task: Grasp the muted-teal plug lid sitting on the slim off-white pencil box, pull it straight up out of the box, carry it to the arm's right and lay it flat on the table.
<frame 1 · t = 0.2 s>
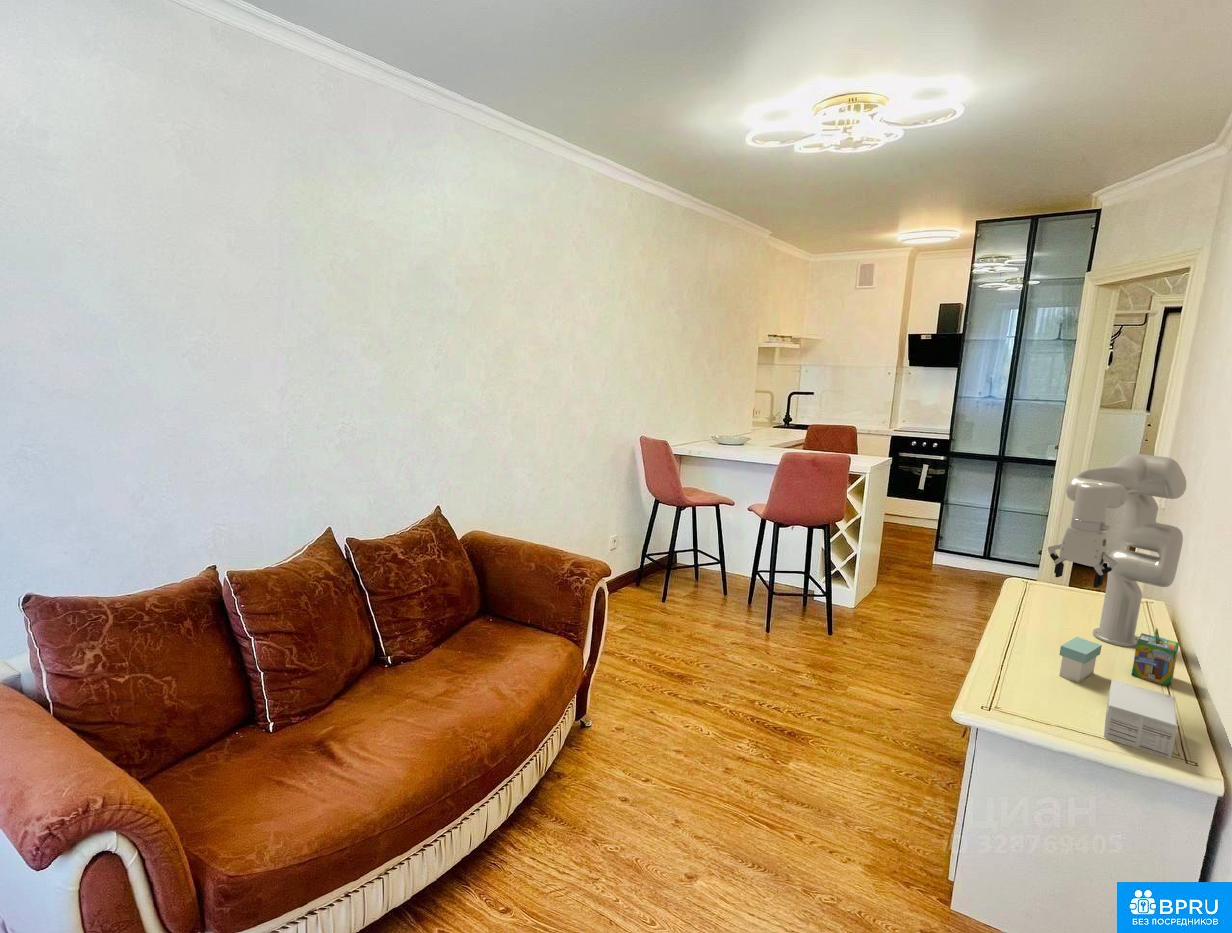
hand: (1077, 581, 182), 30 cm above the cabinet, fingers open, 9 cm apart
box: (1076, 674, 187), on the cabinet
chalk box: (1151, 677, 187), on the cabinet
lid: (1079, 654, 186), point 6 cm above the cabinet, touching box
supplement box: (1136, 734, 158), on the cabinet
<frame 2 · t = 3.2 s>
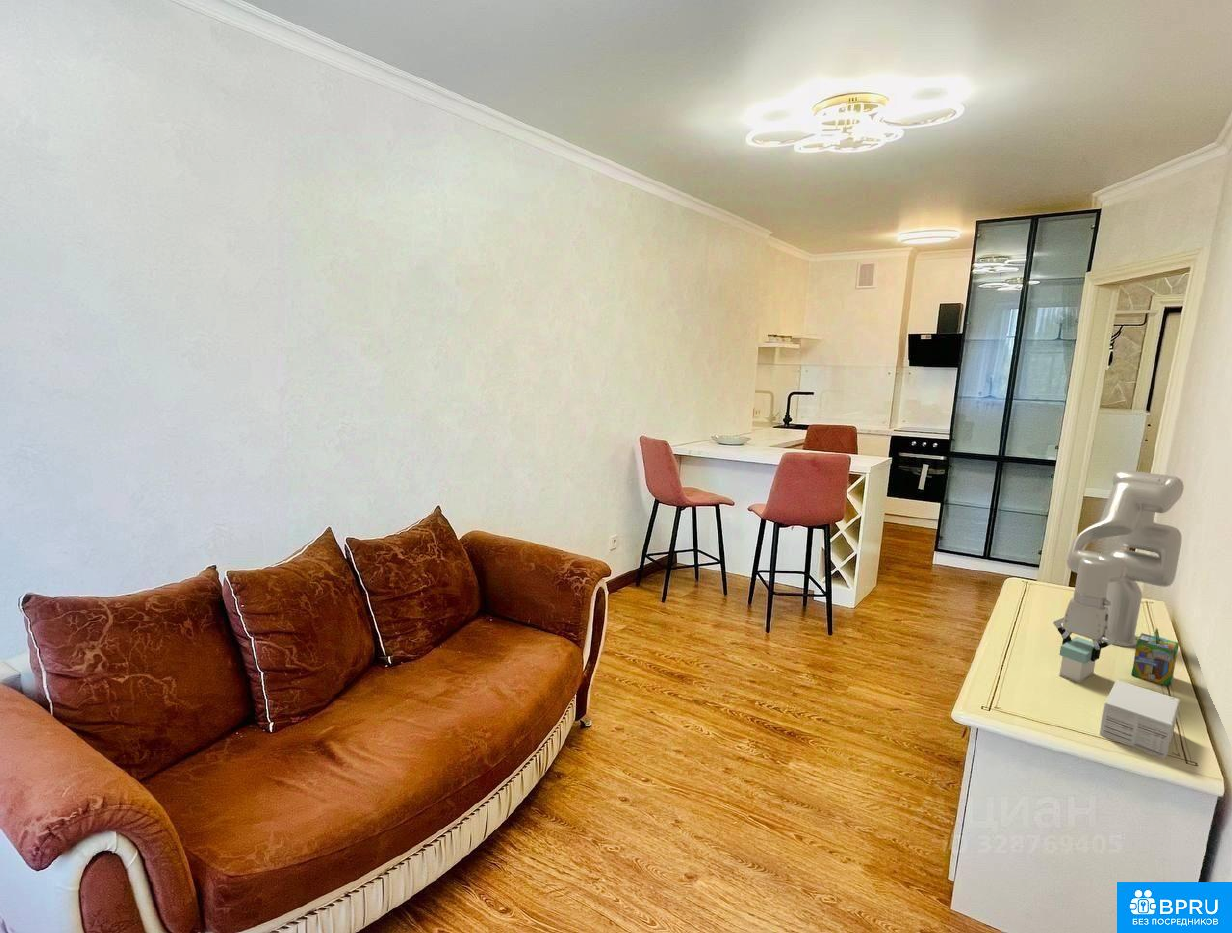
hand: (1079, 654, 186), 6 cm above the cabinet, fingers closed on lid, 6 cm apart
lid: (1079, 654, 186), point 7 cm above the cabinet, touching box, gripper
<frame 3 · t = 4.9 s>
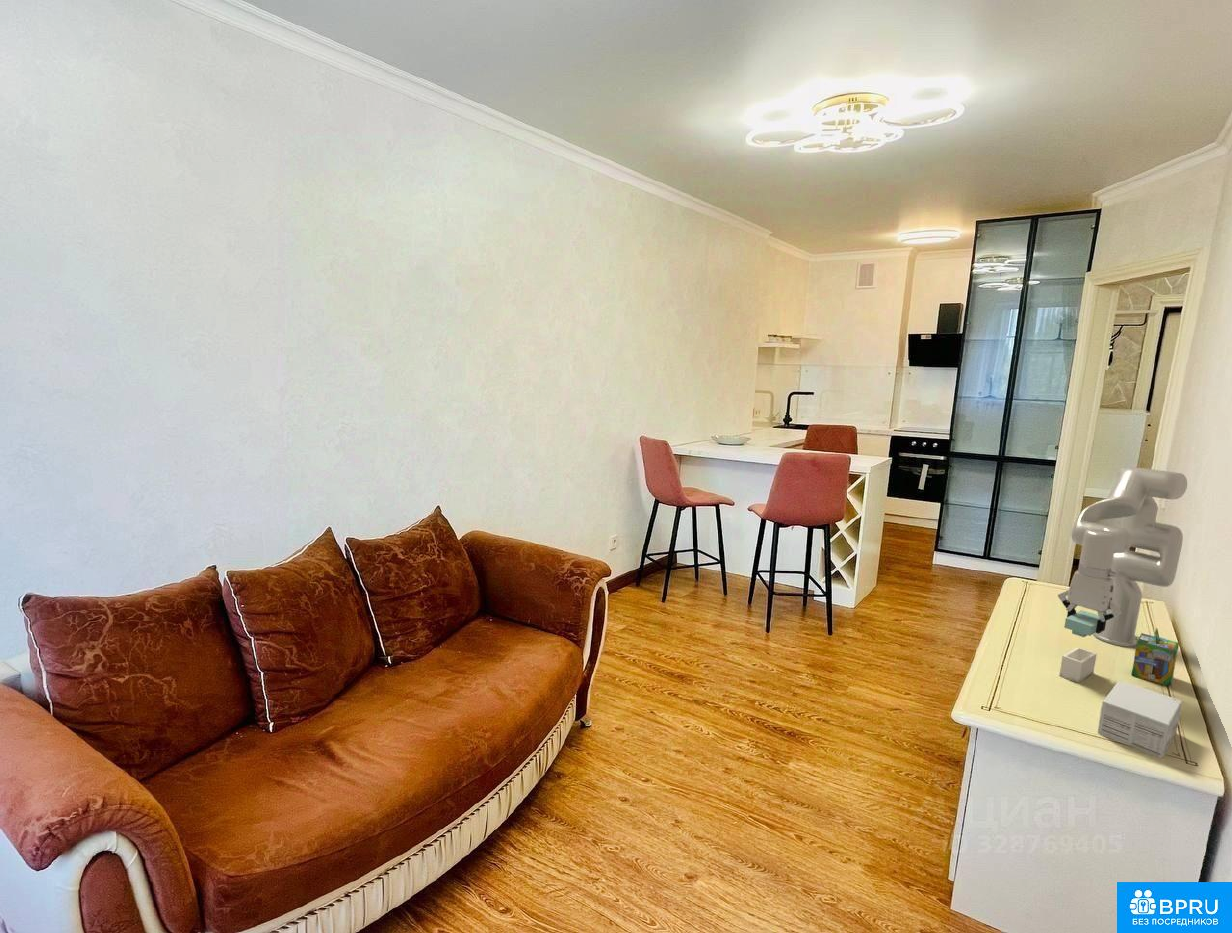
hand: (1084, 627, 185), 15 cm above the cabinet, fingers closed on lid, 6 cm apart
lid: (1084, 627, 185), point 15 cm above the cabinet, touching gripper
everything else where it was.
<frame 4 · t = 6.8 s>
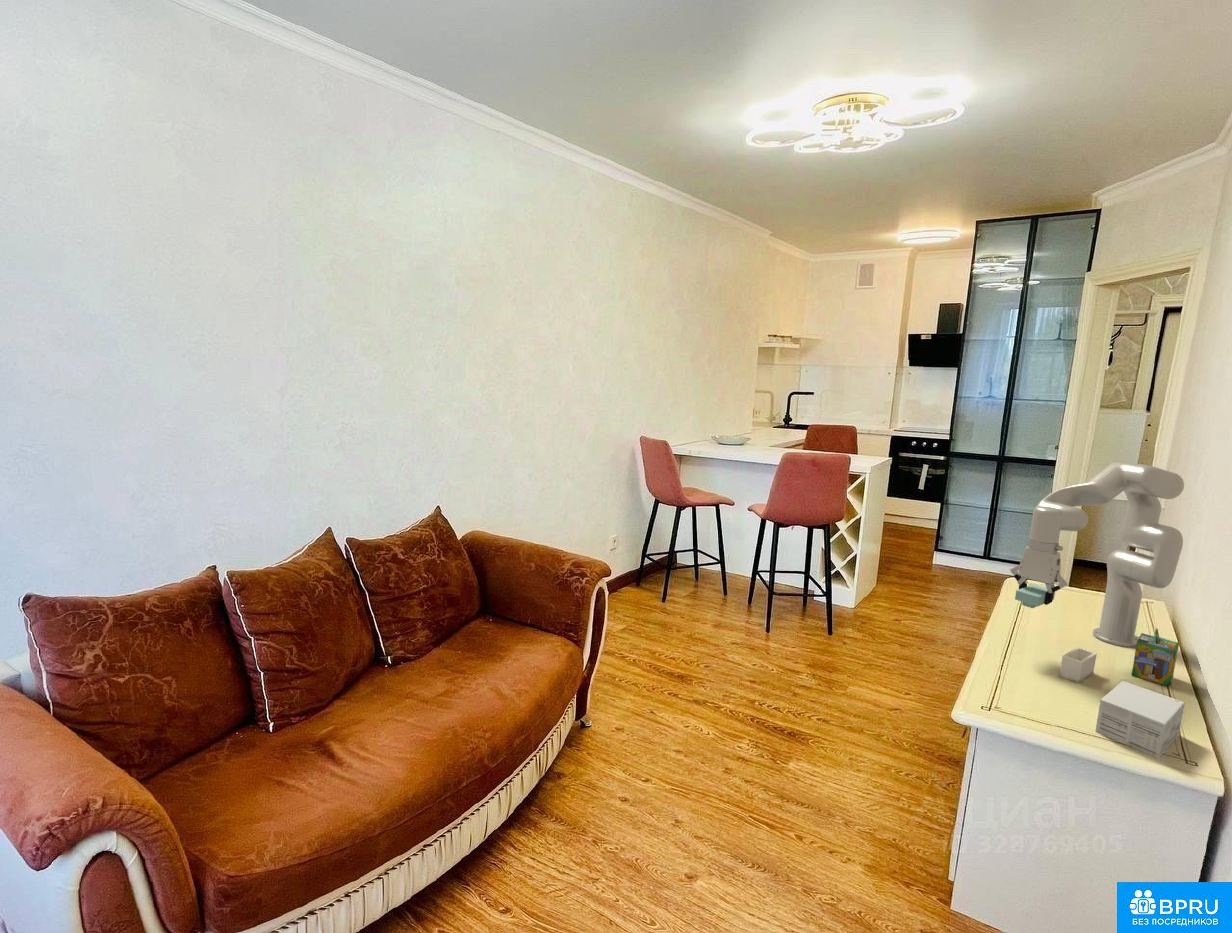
hand: (1034, 599, 195), 19 cm above the cabinet, fingers closed on lid, 6 cm apart
lid: (1034, 599, 195), point 19 cm above the cabinet, touching gripper
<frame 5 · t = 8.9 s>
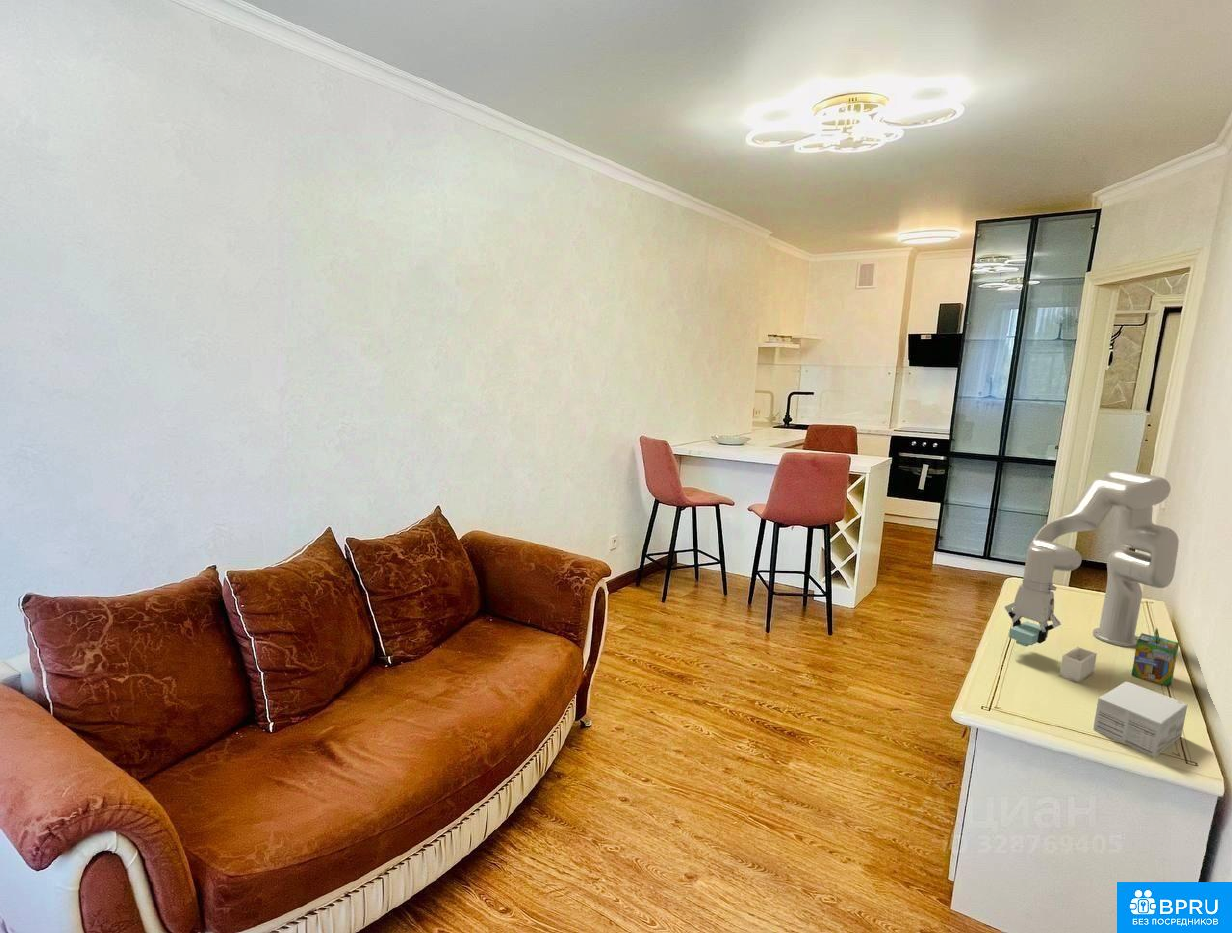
hand: (1028, 637, 197), 6 cm above the cabinet, fingers closed on lid, 6 cm apart
lid: (1028, 637, 197), point 6 cm above the cabinet, touching gripper
when the fingers open (2 cm above the cabinet, at t = 10.7 s): lid drops 1 cm, point 1 cm above the cabinet.
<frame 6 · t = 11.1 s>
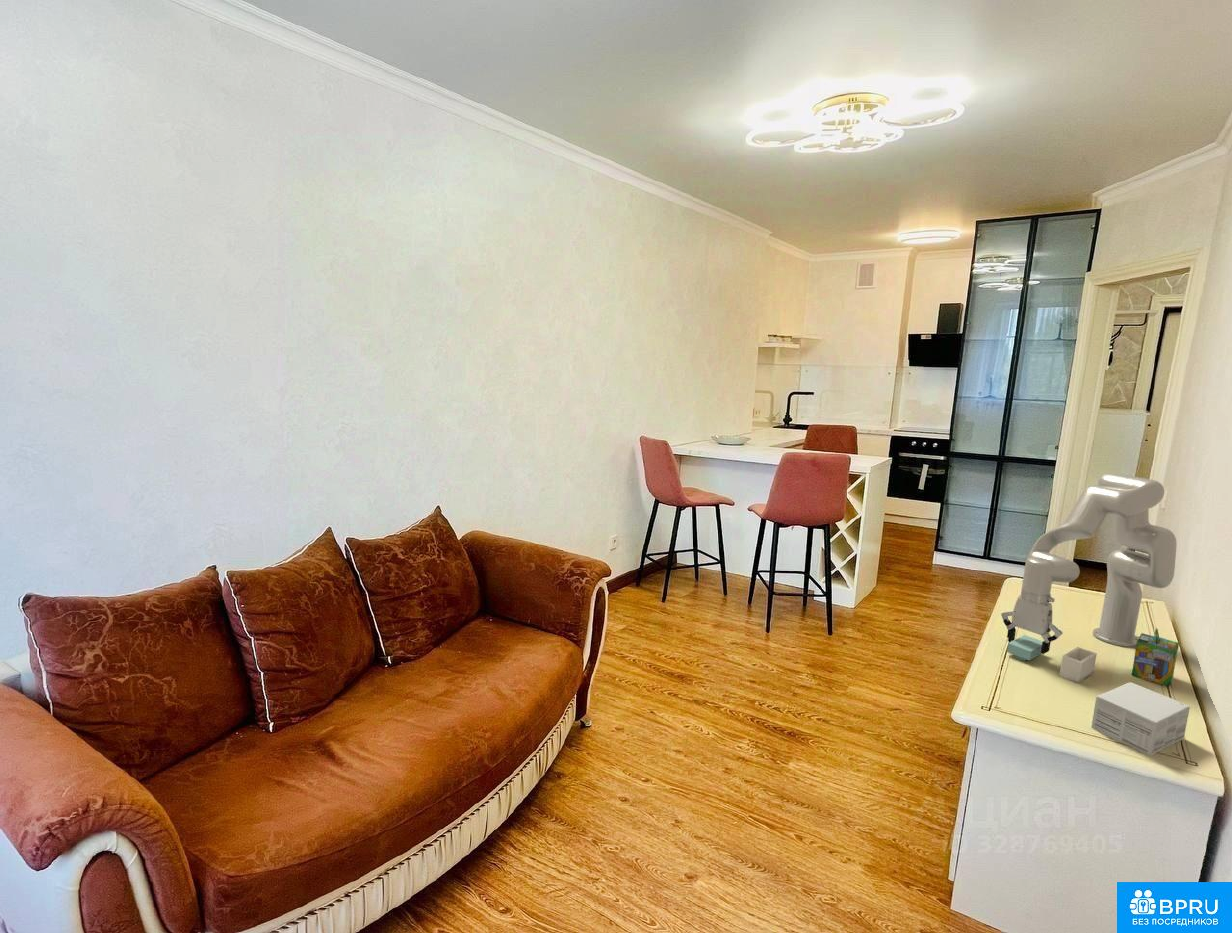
hand: (1027, 646, 198), 3 cm above the cabinet, fingers open, 9 cm apart
lid: (1026, 651, 198), point 1 cm above the cabinet
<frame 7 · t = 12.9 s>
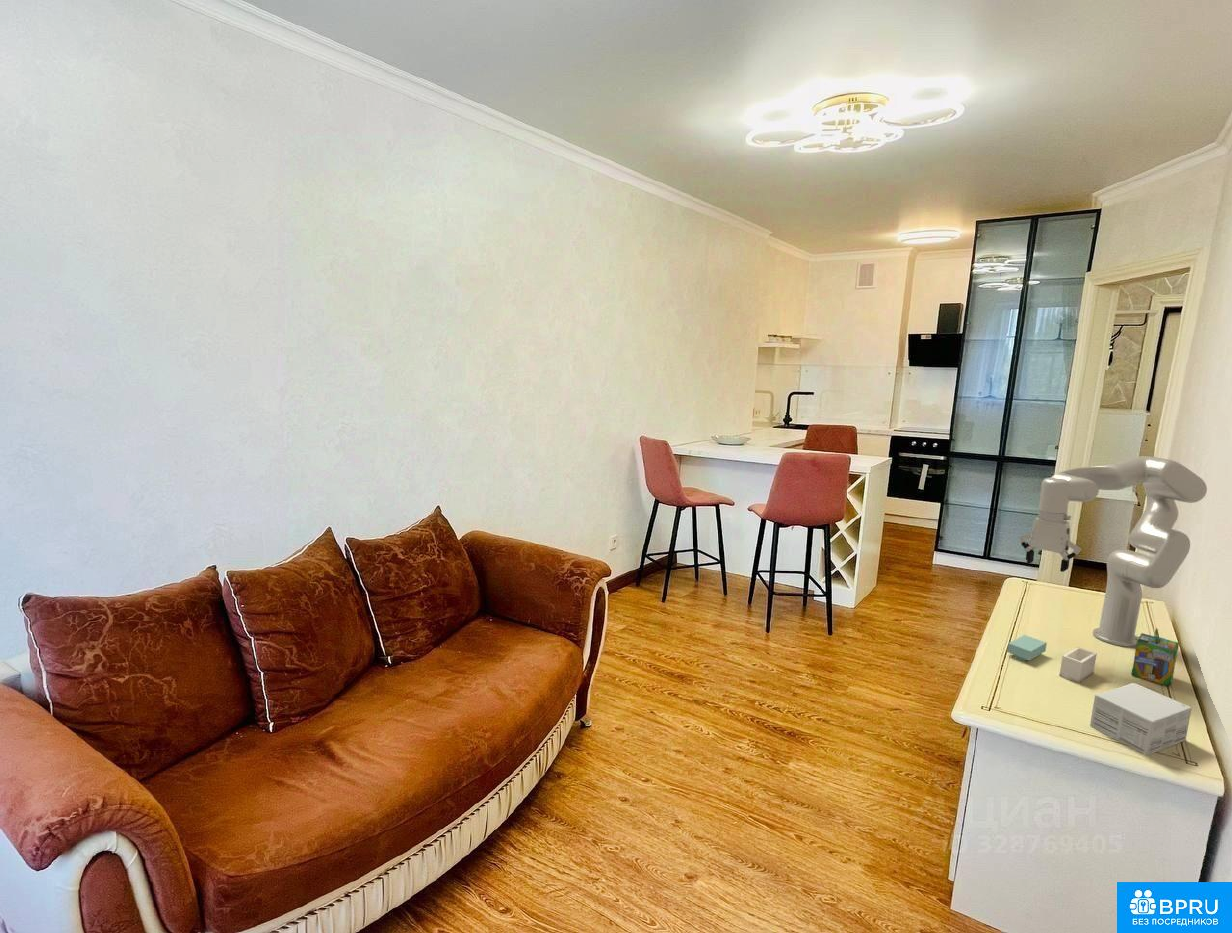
hand: (1046, 566, 202), 27 cm above the cabinet, fingers open, 9 cm apart
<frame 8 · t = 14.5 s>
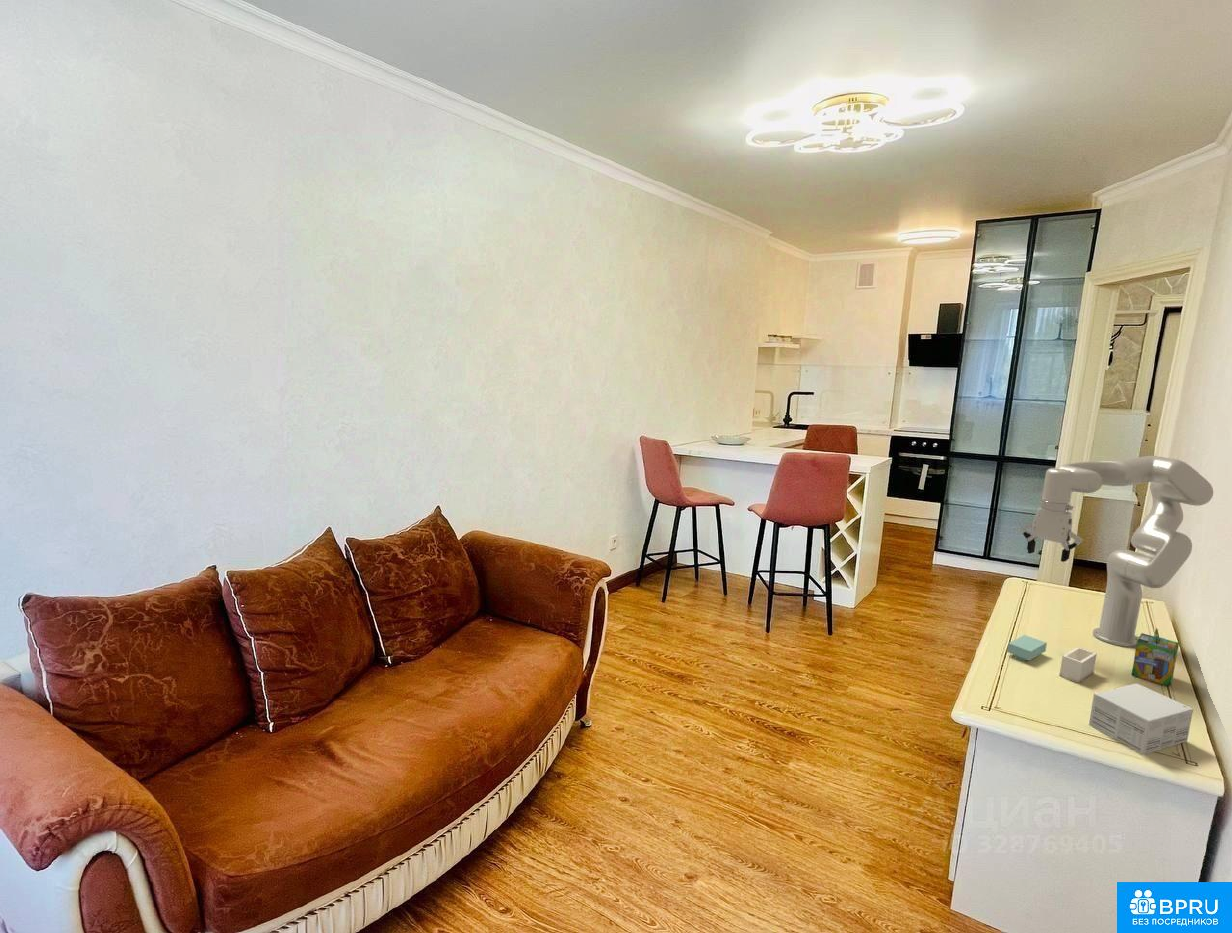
hand: (1047, 556, 203), 30 cm above the cabinet, fingers open, 9 cm apart
at the end: lid inside the target area (0.0 cm from its centre), point 1.4 cm above the cabinet; lid tilted 0°; lid touching cabinet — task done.
